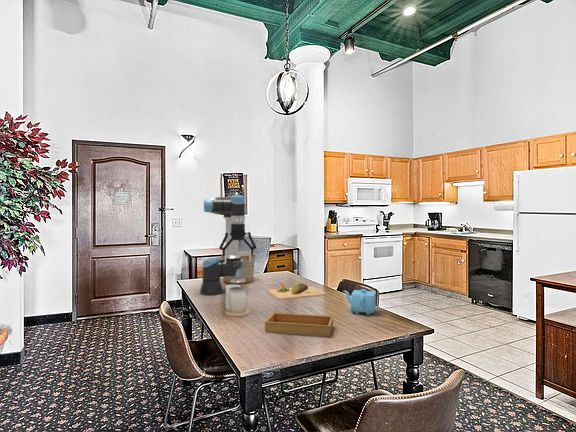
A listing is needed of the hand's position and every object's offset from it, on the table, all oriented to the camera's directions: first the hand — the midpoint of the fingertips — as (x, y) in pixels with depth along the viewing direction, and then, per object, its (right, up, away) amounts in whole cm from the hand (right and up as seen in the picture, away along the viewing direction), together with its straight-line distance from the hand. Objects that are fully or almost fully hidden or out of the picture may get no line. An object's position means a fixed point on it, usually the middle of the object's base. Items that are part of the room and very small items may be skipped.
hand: (237, 261), depth 202 cm
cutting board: (+34, -28, +46) cm, 63 cm away
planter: (-11, -26, +83) cm, 88 cm away
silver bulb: (0, -11, +1) cm, 11 cm away
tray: (+33, -30, -25) cm, 51 cm away
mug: (-4, -28, +20) cm, 34 cm away
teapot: (+67, -29, +4) cm, 73 cm away
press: (0, -28, +1) cm, 28 cm away
